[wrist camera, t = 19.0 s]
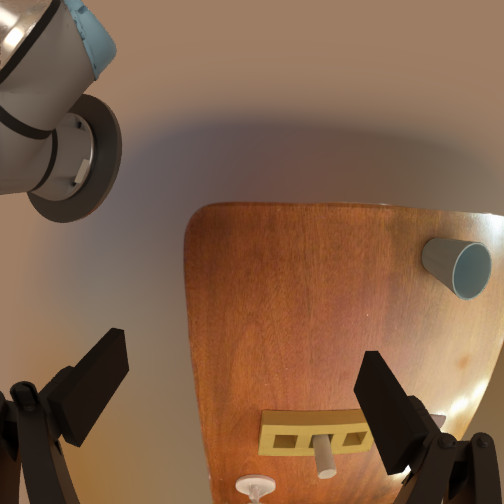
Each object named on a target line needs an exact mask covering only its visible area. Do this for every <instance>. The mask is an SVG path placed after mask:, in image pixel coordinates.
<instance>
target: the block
mask: <svg viewBox="0 0 504 504" xmlns="http://www.w3.org/2000/svg"><path fill="white" fill-rule="evenodd" d="M322 434H328V436H329V440H330V445H331V449H332V454H345V453H355V452H364V451H369V450H370V448H371V446H372V444H373V442H374V439H373V436H372V434H371V431H370V429H369V426H368V424H367V421H366V419H365V416H364V414H363V412H362V409H355V410H337V411H275V410H262V417H261V425H260V432H259V439H258V455H268V456H314V455H315V454H314V448H313V442H312V435H322Z"/></svg>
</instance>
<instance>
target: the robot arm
mask: <svg viewBox="0 0 504 504" xmlns="http://www.w3.org/2000/svg"><path fill="white" fill-rule="evenodd" d="M115 55H116V45H115V43H114V41H113V39H112V38H111V36H110V35H109V34H108V32H107V31H106V30H105V28H104V27H103V26H102V24H101V23H100V22H99V20H98V19H97V18H96V17H95V16H94V14H93V13H92V12H91V11H90V10H88V8H87V7H86V6H85V5H84V3H83V2H82V1H81V0H0V195H2V194H11V193H20V192H32V193H34V194H36V195H38V196H40V197H42V198H44V199H46V200H49V201H63V200H68V199H70V198H72V197H74V196H76V195H77V194H78V193H79V192H80V191H81V190H82V189H83V188H84V187H85V186H86V184H87V183H88V181H89V179H90V177H91V175H92V173H93V170H94V167H95V164H96V159H97V138H96V134H95V131H94V129H93V127H92V125H91V124H90V122H89V121H88V120H87V119H85V118H84V117H82V116H80V115H77V114H74V113H69V112H68V111H69V109H70V108H71V107H72V106H73V105H74V103H75V102H76V101H77V100H78V99H79V97H80V96H81V95H82V94H83V93H84V91H85V90H86V89H87V88H88V87H89V86H90V85H91V84H92V83H93V81H96V80H97V79H98V78H99V75H100V73H101V72H102V71H103V70H104V69H105V68H106V67H107V66H108V64H110V63H111V61H112V60H113V59H114V57H115ZM128 371H129V365H128V358H127V351H126V343H125V335H124V330H121V329H117V328H111V329H110V330H109V331H108V332H107V333H106V334H105V335H104V336H103V337H102V338H101V339H100V341H98V343H97V344H96V345H95V346H94V347H93V348H92V349H91V350H90V351H89V352H88V353H87V354H86V355H85V356H84V357H83V358H82V359H81V360H80V361H79V363H78V364H77V365H76V366H75V367H71V366H67V367H65V368H63V369H62V370H60V371H59V372H58V373H57V374H56V375H55V377H53V379H52V380H51V382H49V383H48V384H47V385H46V386H45V387H44V388H43V389H42V390H41V391H40V392H39V393H37V390H36V387H35V385H34V384H32V383H31V382H27V381H22V382H18V383H16V384H14V385H13V386H12V387H11V389H10V394H11V396H12V399H13V401H14V402H13V401H8V400H6V399H5V397H4V395H3V393H2V392H1V391H0V504H19V484H20V471H21V462H22V468H23V474H24V479H25V484H26V489H27V493H28V498H29V501H30V504H80V502H79V500H78V498H77V495H76V492H75V489H74V487H73V484H72V481H71V478H70V475H69V472H68V469H67V465H66V462H65V459H64V455H63V452H62V448H61V444H60V442H59V440H58V438H59V437H60V436H61V434H62V435H63V437H64V439H65V441H66V442H67V443H69V444H72V445H74V446H77V447H80V446H81V445H82V443H83V441H84V440H85V438H86V437H87V435H88V433H89V431H90V430H91V429H92V427H93V425H94V424H95V422H96V421H97V419H98V417H99V416H100V414H101V413H102V411H103V410H104V408H105V406H106V405H107V403H108V402H109V400H110V399H111V397H112V396H113V394H114V393H115V391H116V390H117V388H118V386H119V385H120V383H121V382H122V380H123V379H124V377H125V376H126V374H127V373H128ZM354 393H355V395H356V397H357V400H358V402H359V404H360V407H361V409H362V412H363V414H364V416H365V419H366V421H367V424H368V426H369V429H370V431H371V434H372V436H373V439H374V441H375V444H376V446H377V449H378V451H379V454H380V456H381V459H382V461H383V464H384V467H385V469H386V472H387V474H388V475H393V474H397V473H402V472H403V471H404V470H405V468H406V467H407V466H408V465H409V467H410V469H411V471H410V472H409V474H408V475H407V476H406V478H405V479H404V480H403V481H402V483H401V484H403V486H402V488H401V490H400V492H399V494H398V495H397V497H396V499H395V501H394V503H393V504H441V502H442V499H443V504H502V498H501V487H500V477H499V470H498V463H497V456H496V451H495V445H494V441H493V439H492V438H491V436H489V435H488V434H486V433H482V432H479V433H476V434H474V435H473V437H472V438H471V440H470V441H457V440H456V438H455V437H454V436H453V435H451V434H448V433H442V432H441V431H440V429H439V428H438V426H437V425H436V423H435V421H434V420H433V418H432V417H431V415H429V412H428V411H427V409H425V406H424V405H423V403H422V402H421V401H420V400H419V399H418V398H416V397H415V396H414V395H413V396H407V395H406V393H405V392H404V390H403V388H402V387H401V385H400V384H399V382H398V381H397V379H396V378H395V376H394V375H393V373H392V371H391V370H390V368H389V367H388V365H387V364H386V362H385V361H384V359H383V358H382V356H381V355H380V353H379V352H378V351H365V354H364V358H363V361H362V365H361V368H360V371H359V374H358V377H357V381H356V384H355V387H354Z"/></svg>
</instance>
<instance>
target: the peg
mask: <svg viewBox="0 0 504 504" xmlns="http://www.w3.org/2000/svg"><path fill="white" fill-rule="evenodd" d="M312 442H313V448H314V454H315V460H316V466H317V472H318V477H319V478H322V479H327V478H331V477H333V476H334V475H335V474H336V473H337V471H336V467H335V462H334V458H333V454H332V449H331V445H330V440H329V436H328V434H322V435H312Z"/></svg>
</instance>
